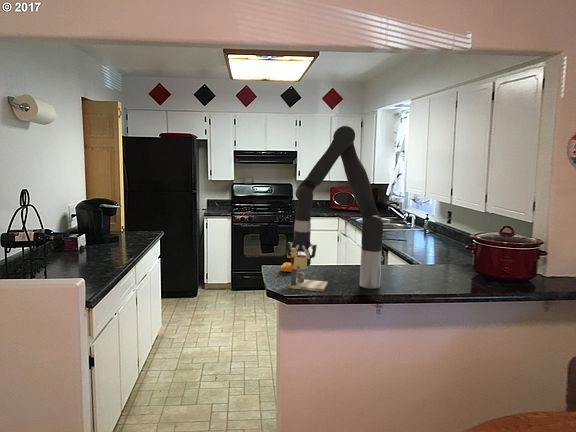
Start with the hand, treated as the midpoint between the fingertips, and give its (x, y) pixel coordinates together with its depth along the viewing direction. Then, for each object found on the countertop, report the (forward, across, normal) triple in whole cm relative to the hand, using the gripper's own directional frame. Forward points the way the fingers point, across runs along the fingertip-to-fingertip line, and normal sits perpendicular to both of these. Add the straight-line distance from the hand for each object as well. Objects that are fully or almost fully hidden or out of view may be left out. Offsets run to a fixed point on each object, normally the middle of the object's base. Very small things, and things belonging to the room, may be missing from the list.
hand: (300, 265), depth 211 cm
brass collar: (+1, 0, 0) cm, 1 cm away
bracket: (+9, +11, -22) cm, 26 cm away
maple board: (+9, -4, +2) cm, 10 cm away
